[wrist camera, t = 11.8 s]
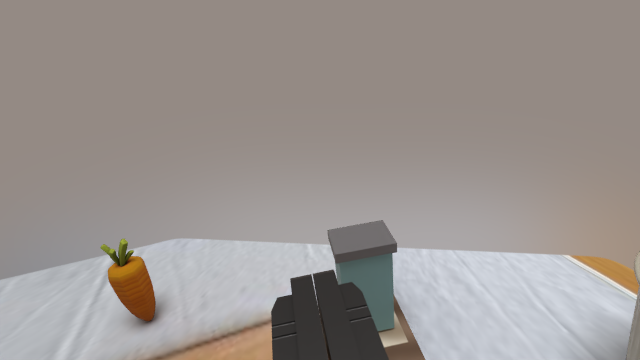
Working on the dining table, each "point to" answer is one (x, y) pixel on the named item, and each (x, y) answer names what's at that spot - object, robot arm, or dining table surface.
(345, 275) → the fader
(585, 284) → the dining table surface
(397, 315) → the grooved wooden base
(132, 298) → the carrot
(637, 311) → the canister
